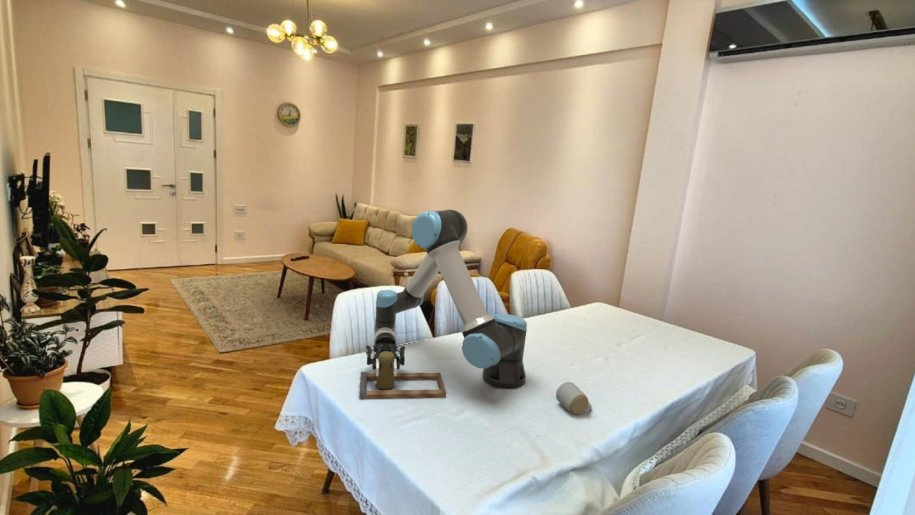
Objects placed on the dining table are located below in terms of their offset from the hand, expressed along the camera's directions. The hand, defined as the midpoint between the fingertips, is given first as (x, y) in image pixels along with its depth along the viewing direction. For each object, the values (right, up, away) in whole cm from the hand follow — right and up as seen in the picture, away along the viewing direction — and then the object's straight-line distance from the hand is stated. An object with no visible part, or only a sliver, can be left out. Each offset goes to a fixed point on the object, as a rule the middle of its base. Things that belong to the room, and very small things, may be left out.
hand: (386, 372), depth 141 cm
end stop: (-8, -6, +5) cm, 11 cm away
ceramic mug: (+59, -13, +4) cm, 61 cm away
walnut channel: (+5, -7, +7) cm, 11 cm away
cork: (-1, -6, +7) cm, 9 cm away
